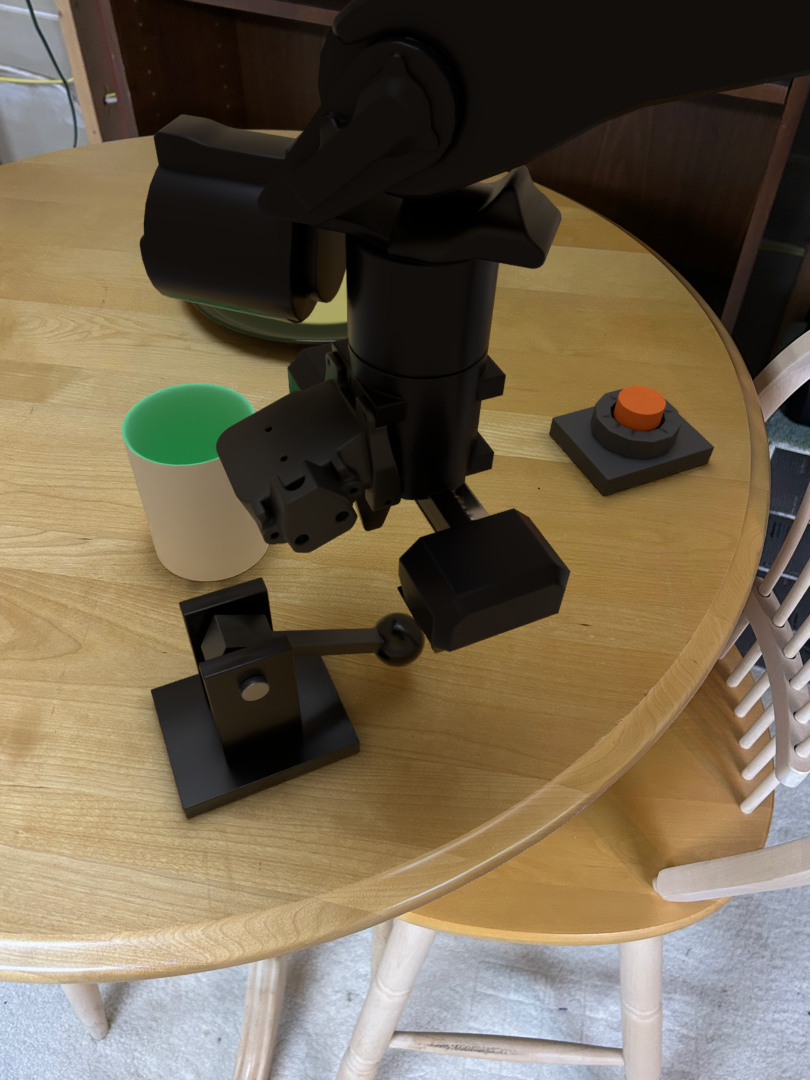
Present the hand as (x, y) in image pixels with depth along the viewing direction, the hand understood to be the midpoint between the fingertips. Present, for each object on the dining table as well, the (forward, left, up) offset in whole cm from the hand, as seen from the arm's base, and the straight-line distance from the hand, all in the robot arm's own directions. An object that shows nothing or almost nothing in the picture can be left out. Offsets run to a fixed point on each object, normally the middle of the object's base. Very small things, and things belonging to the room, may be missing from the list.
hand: (405, 584), depth 44 cm
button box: (+12, -26, -8) cm, 30 cm away
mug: (+17, +7, -8) cm, 21 cm away
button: (+12, -26, -5) cm, 29 cm away
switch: (0, +9, -8) cm, 13 cm away
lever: (0, +6, -4) cm, 7 cm away
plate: (+45, -12, -8) cm, 48 cm away
